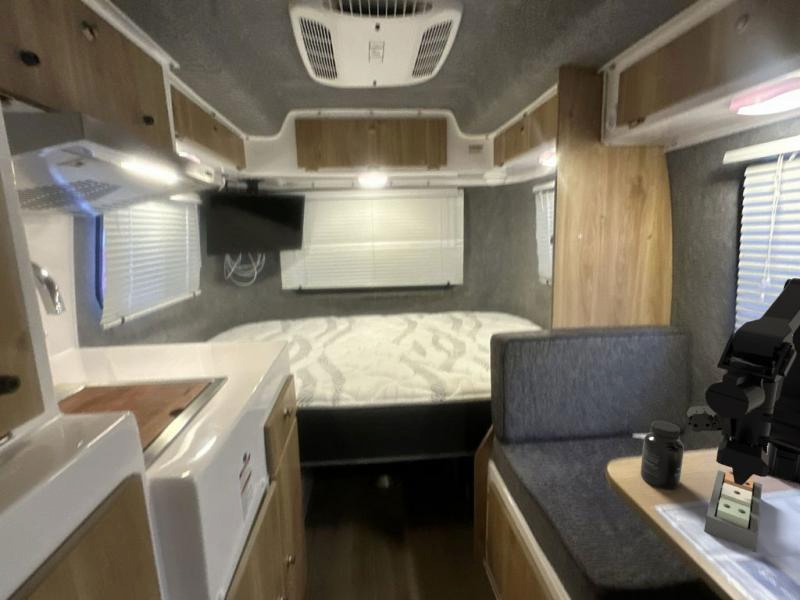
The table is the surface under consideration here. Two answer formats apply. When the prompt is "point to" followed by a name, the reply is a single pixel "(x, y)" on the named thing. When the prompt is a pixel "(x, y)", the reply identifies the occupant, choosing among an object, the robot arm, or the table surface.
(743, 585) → the table surface
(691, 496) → the table surface
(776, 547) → the table surface
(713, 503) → the grey tile tray
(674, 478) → the supplement bottle
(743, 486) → the tile three dots
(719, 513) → the tile two dots
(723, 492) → the tile one dot
